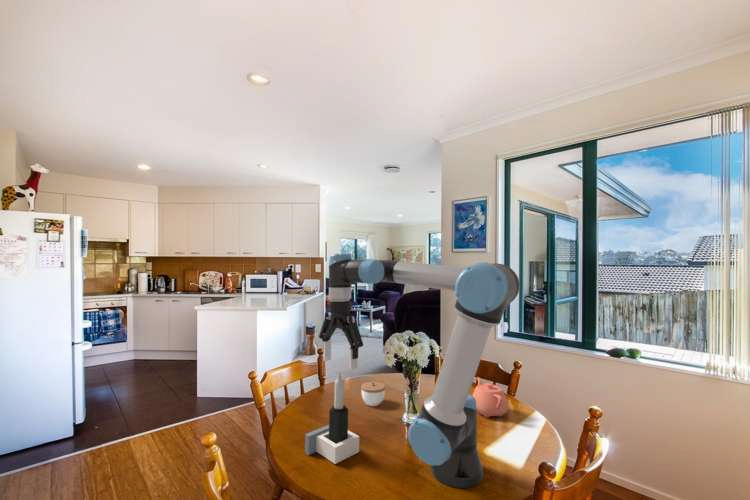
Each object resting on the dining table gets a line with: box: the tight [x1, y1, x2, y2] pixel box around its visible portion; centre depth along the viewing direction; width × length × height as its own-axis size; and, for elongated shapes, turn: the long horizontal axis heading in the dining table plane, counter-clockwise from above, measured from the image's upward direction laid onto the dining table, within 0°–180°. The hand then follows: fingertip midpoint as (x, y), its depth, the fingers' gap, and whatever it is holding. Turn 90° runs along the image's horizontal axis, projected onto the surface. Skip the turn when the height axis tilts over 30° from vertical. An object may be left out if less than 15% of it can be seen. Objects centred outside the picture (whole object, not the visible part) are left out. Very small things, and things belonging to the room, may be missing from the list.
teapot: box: [472, 376, 509, 419], centre depth 144 cm, size 13×20×12 cm, turn 11°
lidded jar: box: [360, 381, 386, 407], centre depth 152 cm, size 11×11×9 cm
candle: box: [328, 371, 349, 444], centre depth 113 cm, size 5×5×25 cm
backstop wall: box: [304, 424, 329, 456], centre depth 117 cm, size 2×16×6 cm, turn 135°
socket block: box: [316, 429, 360, 465], centre depth 113 cm, size 10×10×5 cm
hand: (339, 364), depth 114 cm, fingers open, 13 cm apart
